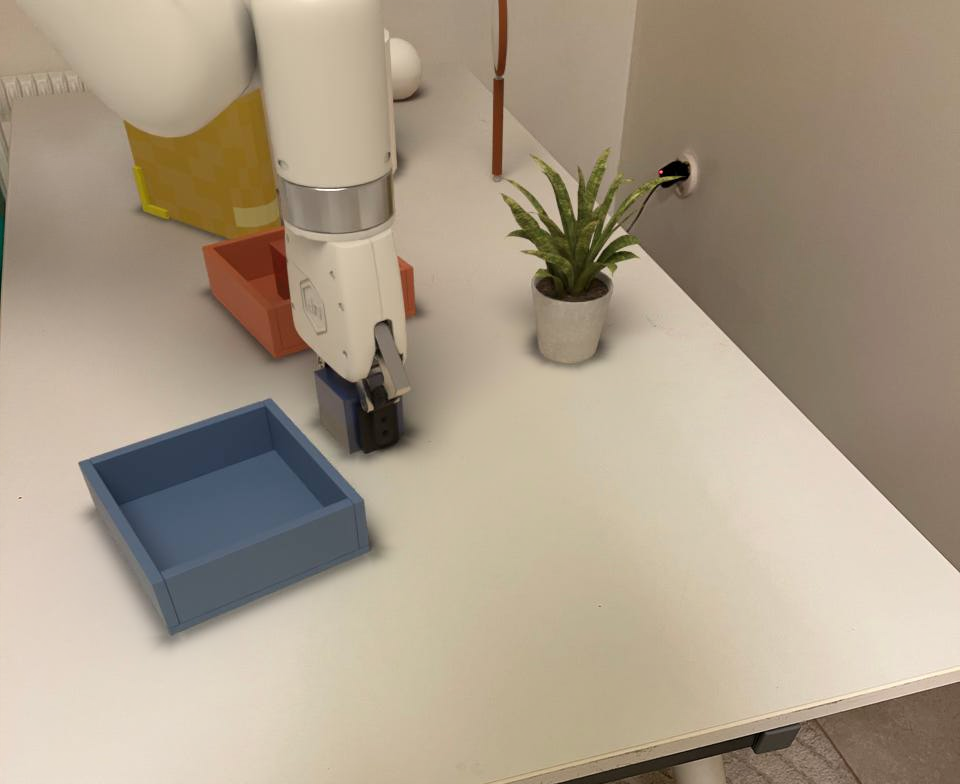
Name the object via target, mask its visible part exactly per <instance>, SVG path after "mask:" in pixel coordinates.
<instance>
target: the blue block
mask: <svg viewBox="0 0 960 784" xmlns="http://www.w3.org/2000/svg"><path fill="white" fill-rule="evenodd" d="M375 362H378V360H377V358H376V357H374V358H373V362H372V363H375ZM313 376H314V384H315V389H316V397H317V403H318V409H319V416H320V423H321V425H322V427H324V428H325V430H326V431H327V432H328V433H329V434H330V435H331V436H332V438H334V439H335V441H337V442H338V443H339V444H340V446H341V447H342V448H343V449H345V450H346V452H347V453H348V454H349V455H353V454H355V453H358V452H360V451H363V450H362V449H361V445H360V436H359V427H358V418H357V409H356V407H359V406H361V402H360V398H359V394H358V390H357V385H356V382H350V381H348V380H346V379H345V378H343V377H342V376H340V375H339V374H338V373H337V372H336V371H335V370H334V369H333V368H331V367H330V366H329V367H326V368H323V369H321V368H319V369H318V370H313ZM368 382H369V386H370V390H371V391H372V390H373V389H374V388H375V387H377V386H380V385H381V384H382V383H384V382H383V377H382V373H381V374H378V375H375V376H372V377H369V378H368ZM397 414H398V427H399V437H400V436H403V435H405V434H406V433H405V419H404V403H403V395H402V396H401V397H400V400H399V402H397Z"/></svg>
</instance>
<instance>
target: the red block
mask: <svg viewBox="0 0 960 784" xmlns="http://www.w3.org/2000/svg"><path fill="white" fill-rule="evenodd" d="M269 245H270V251H271V257H272V263H273V269H274V274H275V280H276V286H277V292H278V294H279V295H280V296H281V297H282V298H283V299H284V300H288V299H291V298H290V289H289V280H288V271H287V260H286V247H285V239H281V240H277V241H273V242H270V243H269Z"/></svg>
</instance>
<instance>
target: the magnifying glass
mask: <svg viewBox="0 0 960 784" xmlns="http://www.w3.org/2000/svg"><path fill="white" fill-rule="evenodd" d="M490 19H491V20H490V28H491V29H490V39H491V51H492V59H493V70H494V74H495V77H493V79H492V81H493V83H492V143H491V144H492V145H491V146H492V148H491V151H492V154H491V175H493V181H494V182H495V183H498V182H500V181H501V175H502V174H503V147H504V145H503V142H504V107H505V106H504V104H505V103H504V102H505V101H504V99H505V98H504V97H505V78H504V77H503V76H504V75H505V72H506V65H507V56H508V47H509V7H508V0H492V5H491V18H490Z"/></svg>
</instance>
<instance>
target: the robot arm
mask: <svg viewBox="0 0 960 784" xmlns="http://www.w3.org/2000/svg"><path fill="white" fill-rule="evenodd" d="M13 1H14V3H15V4H16V5H17V6H18V8H19V9H20V10H21V12H22V13H23V14H24V15H25V17H26V18H27V20H29V22H30V23H31V24H32V25H33V26H34V28H35V29H36V30H37V31H38V32H39V35H41V36H42V37H43V38H44V39H45V41H46V42H47V43H48V44H49V45H50V47H51V48H52V49H53V50H54V51H55V52H56V53H57V55H58V56H59V57H60V58H61V59H62V61H64V63H65V64H66V65H67V66H68V67H69V69H70V70H71V71H72V72H73V73H74V74H75V75H76V76H77V78H78V79H79V80H80V81H81V82H82V83H83V84H84V85H85V86H86V87H87V88H88V90H89V91H90V92H91V93H92V94H93V95H94V96H95V97H96V98H97V99H98V100H99V101H101V103H103V104H104V105H105V106H106V107H107V108H108V109H109V110H110V111H112V112H113V113H114V114H115V115H117V117H119V118H120V119H122V121H124V120H125V121H126V122H128V123H129V124H131V125H132V126H134V127H136V128H138V129H140V130H142V131H144V132H147V133H149V134H151V135H155V136H161V137H166V138H171V137H183V136H186V135H190V134H192V133H195V132H197V131H198V130H200V129H201V128H203V127H204V126H205V125H207V124H208V123H210V122H211V121H212V120H213V119H214V118H215V117H217V116H218V115H219V114H220V113H221V112H222V111H223V110H224V109H225V108H227V107H228V106H229V105H230V104H231V103H232V102H233V101H234V100H236V99H238V98H240V97H242V96H244V95H246V94H248V93H250V92H252V91H254V90H256V89H259V88H260V89H262V90H263V91H264V97H265V104H266V110H267V116H268V123H269V129H270V135H271V141H272V147H273V154H274V160H275V166H276V175H277V181H278V188H279V190H278V193H279V200H280V206H281V213H282V217H283V218H282V221H283V224H284V225H285V247H286V260H287V271H288V280H289V289H290V298H291V306H292V314H293V321H294V326H295V328H296V331H297V332H298V334H299V335H300V337H301V338H302V339H303V340H304V341H305V342H306V343H307V344H308V345H309V346H310V347H311V348H310V349H312V351H313V352H315V353H316V360H317V364H318V366H319V369H323V368H326V367H329V366H330V367H331V368H333V369H334V370H335V371H336V372H337V373H338V374H339V375H340V376H342V377H343V378H345V379H346V380H348V381H350V382H356V385H357V390H358V394H359V398H360V402H361V406H359V407H356V409H357V418H358V427H359V436H360V445H361V449H362V450H361V451H363V452H364V454H370V453H372V452H375V451H378V450H381V449H383V448H386V447H388V446H391V445H394V444H396V443H398V441H400V440H399V439H400V436H399V427H398V414H397V402H399V400H400V397H401V396H402V397H403V395H405V394H408V392H410V391H411V390H412V389H411V388H412V387H411V383H410V380H409V377H408V374H407V372H406V370H405V367H404V365H405V362H406V360H407V351H408V349H407V348H408V338H407V337H408V336H407V321H406V320H407V319H406V318H405V309H404V300H403V292H402V284H401V277H400V270H399V263H398V257H397V256H398V252H397V247H396V241H395V236H394V231H393V228H392V226H393V225H394V223H395V222H396V218H397V217H396V202H395V201H396V200H395V183H394V182H395V181H394V174H393V166H392V154H391V137H390V120H389V103H388V87H387V71H386V55H385V39H384V28H385V26H384V24H385V23H384V13H383V11H384V10H383V4H382V3H383V2H382V0H13ZM284 225H283V226H284ZM373 358H376V359H377V360H378V362H375V363H372V362H373ZM381 373H382V377H383V382H384V383H382V384H381V385H380V386H377V387H375V388H374V389H373V390H372V391H371V390H370V386H369V382H368V378H369V377H372V376H375V375H378V374H381Z"/></svg>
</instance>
